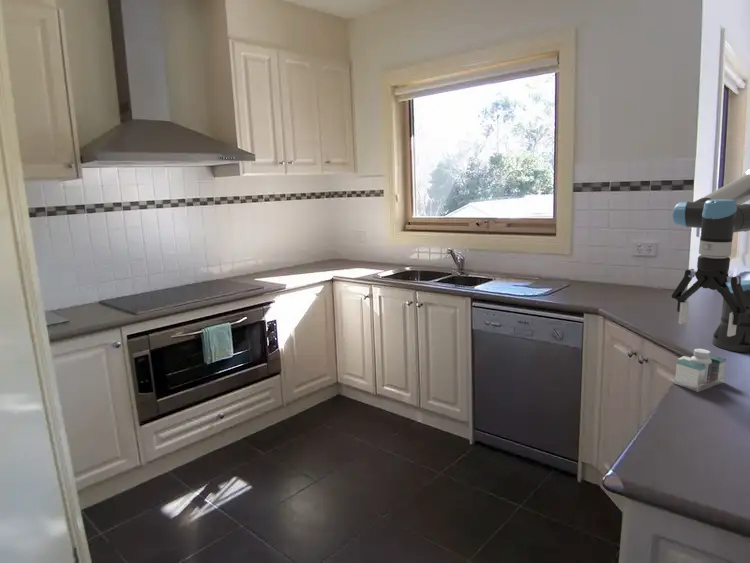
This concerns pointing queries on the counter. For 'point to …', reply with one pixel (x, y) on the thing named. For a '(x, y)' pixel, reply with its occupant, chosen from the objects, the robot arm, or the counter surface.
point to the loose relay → (685, 358)
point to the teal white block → (699, 374)
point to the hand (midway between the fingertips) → (705, 329)
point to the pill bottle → (703, 361)
